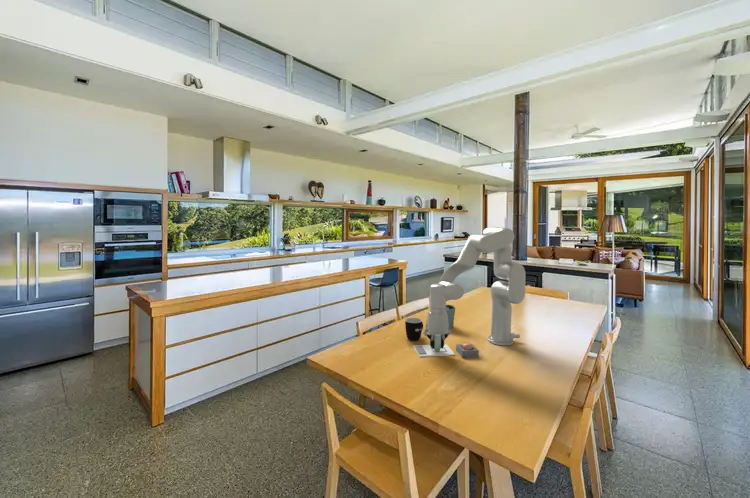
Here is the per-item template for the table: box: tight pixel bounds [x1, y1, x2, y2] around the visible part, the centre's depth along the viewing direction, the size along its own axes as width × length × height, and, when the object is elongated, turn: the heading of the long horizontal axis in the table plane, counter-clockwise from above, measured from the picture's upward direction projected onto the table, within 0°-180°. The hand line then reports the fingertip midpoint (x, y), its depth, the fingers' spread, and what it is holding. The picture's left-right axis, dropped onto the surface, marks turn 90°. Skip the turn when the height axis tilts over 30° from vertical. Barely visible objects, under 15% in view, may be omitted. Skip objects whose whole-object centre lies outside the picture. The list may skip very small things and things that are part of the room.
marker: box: [433, 334, 441, 351], centre depth 160 cm, size 4×4×8 cm
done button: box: [462, 342, 473, 350], centre depth 159 cm, size 4×4×3 cm
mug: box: [404, 317, 424, 342], centre depth 178 cm, size 12×9×10 cm
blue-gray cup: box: [446, 304, 456, 330], centre depth 196 cm, size 10×10×12 cm
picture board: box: [413, 343, 456, 358], centre depth 162 cm, size 17×12×1 cm
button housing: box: [455, 343, 480, 358], centre depth 159 cm, size 8×8×3 cm
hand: (437, 347), depth 160 cm, fingers closed on marker, 3 cm apart
